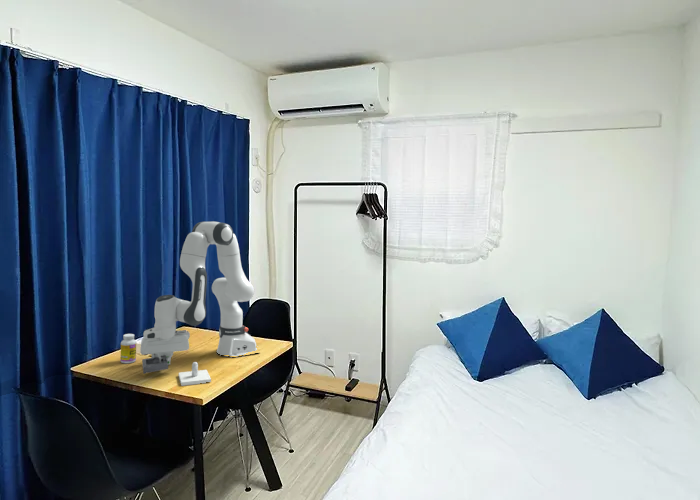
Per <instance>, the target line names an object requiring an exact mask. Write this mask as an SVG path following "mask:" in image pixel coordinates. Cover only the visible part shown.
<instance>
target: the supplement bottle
mask: <svg viewBox="0 0 700 500" xmlns="http://www.w3.org/2000/svg"><path fill="white" fill-rule="evenodd" d="M119 357H120V362H121V364H132V363H135V362H136V360H137V340H136V339H135V334H134V333H125V334H123V337H122V340H121V342H120V356H119Z"/></svg>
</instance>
